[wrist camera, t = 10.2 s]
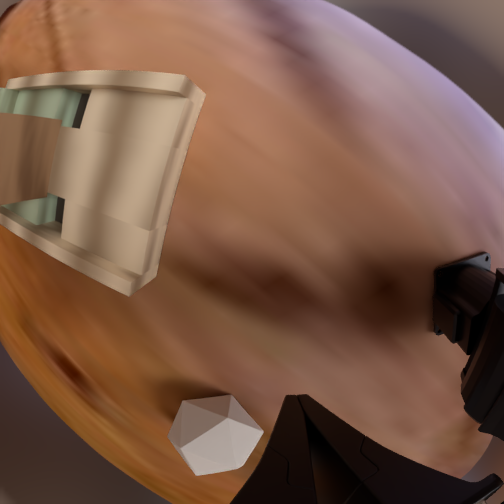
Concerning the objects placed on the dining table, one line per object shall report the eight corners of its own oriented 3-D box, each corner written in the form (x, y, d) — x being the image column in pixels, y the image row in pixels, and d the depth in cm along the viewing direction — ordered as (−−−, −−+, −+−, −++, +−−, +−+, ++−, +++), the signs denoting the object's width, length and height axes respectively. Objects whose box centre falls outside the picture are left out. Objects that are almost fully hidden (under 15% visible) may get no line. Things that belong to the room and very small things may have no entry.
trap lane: (206, 94, 18) (175, 66, 13) (156, 276, 23) (118, 305, 17) (34, 85, 20) (-1, 78, 14) (10, 206, 24) (-25, 214, 18)
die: (178, 372, 26) (141, 449, 20) (233, 385, 20) (188, 486, 14) (230, 400, 30) (201, 468, 24) (288, 412, 24) (255, 495, 18)
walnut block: (62, 120, 17) (-20, 111, 9) (46, 197, 19) (-33, 212, 11) (29, 117, 18) (-40, 112, 9) (16, 184, 20) (-52, 195, 11)
